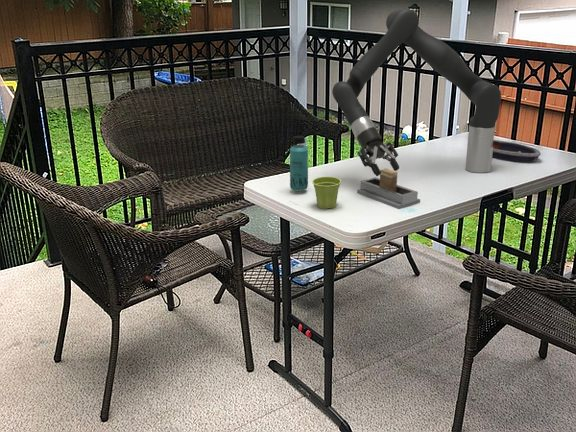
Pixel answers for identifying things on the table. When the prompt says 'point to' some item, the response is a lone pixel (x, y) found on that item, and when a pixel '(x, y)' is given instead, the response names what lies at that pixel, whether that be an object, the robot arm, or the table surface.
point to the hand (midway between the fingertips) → (388, 172)
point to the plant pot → (326, 191)
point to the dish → (514, 151)
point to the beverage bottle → (298, 164)
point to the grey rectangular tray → (388, 194)
